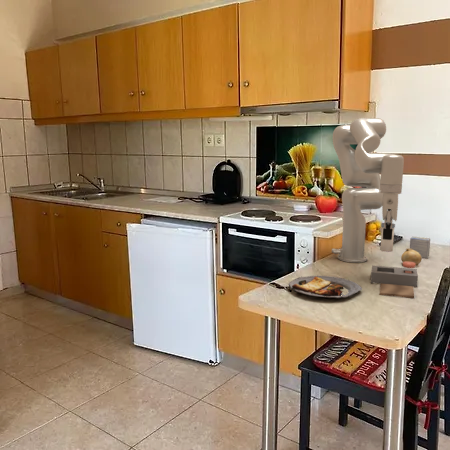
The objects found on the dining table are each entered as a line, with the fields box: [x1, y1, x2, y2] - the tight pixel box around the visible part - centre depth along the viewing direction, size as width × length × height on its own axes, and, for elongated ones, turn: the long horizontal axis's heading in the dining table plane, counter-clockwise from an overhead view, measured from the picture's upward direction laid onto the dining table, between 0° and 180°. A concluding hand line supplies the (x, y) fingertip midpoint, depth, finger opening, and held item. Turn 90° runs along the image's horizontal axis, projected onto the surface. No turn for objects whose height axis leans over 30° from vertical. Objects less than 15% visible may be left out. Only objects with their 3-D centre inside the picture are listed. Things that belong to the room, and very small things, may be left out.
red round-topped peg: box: [402, 261, 416, 273], centre depth 174 cm, size 4×4×7 cm
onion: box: [400, 247, 423, 267], centre depth 198 cm, size 8×8×7 cm
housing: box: [370, 264, 419, 288], centre depth 176 cm, size 16×10×4 cm, turn 71°
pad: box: [379, 283, 415, 299], centre depth 164 cm, size 11×11×1 cm
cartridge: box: [379, 222, 396, 253], centre depth 174 cm, size 5×5×10 cm
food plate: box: [288, 275, 363, 299], centre depth 165 cm, size 25×23×4 cm
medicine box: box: [409, 236, 431, 259], centre depth 212 cm, size 8×4×9 cm, turn 58°
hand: (387, 237), depth 174 cm, fingers closed on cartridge, 4 cm apart
